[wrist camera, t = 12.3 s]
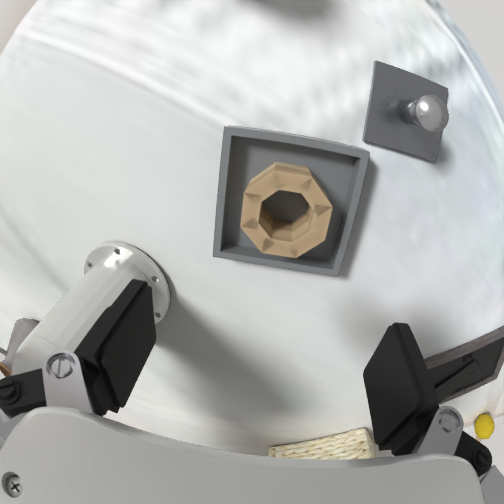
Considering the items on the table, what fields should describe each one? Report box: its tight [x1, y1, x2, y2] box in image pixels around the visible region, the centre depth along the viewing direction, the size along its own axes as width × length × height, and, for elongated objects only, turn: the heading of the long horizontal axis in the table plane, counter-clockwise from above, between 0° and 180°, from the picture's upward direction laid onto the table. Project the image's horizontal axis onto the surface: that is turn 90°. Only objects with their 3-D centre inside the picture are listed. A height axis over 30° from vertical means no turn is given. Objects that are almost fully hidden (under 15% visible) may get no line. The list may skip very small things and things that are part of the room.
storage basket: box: [268, 428, 376, 460], centre depth 44 cm, size 24×16×15 cm
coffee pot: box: [0, 318, 39, 377], centre depth 36 cm, size 21×12×15 cm, turn 27°
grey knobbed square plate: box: [362, 61, 449, 162], centre depth 19 cm, size 8×8×6 cm
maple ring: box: [240, 162, 333, 258], centre depth 24 cm, size 7×7×4 cm
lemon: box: [475, 414, 494, 439], centre depth 40 cm, size 6×6×8 cm
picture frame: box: [424, 326, 504, 405], centre depth 36 cm, size 16×2×21 cm
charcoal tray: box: [213, 126, 370, 277], centre depth 26 cm, size 12×12×2 cm
